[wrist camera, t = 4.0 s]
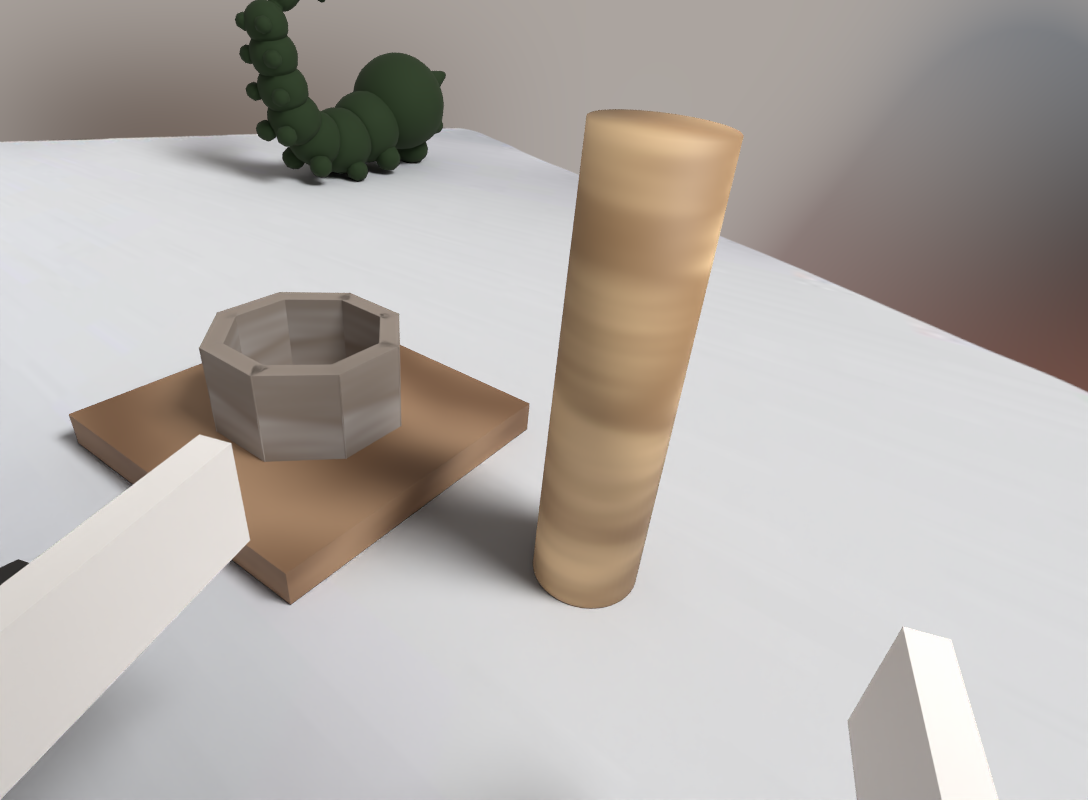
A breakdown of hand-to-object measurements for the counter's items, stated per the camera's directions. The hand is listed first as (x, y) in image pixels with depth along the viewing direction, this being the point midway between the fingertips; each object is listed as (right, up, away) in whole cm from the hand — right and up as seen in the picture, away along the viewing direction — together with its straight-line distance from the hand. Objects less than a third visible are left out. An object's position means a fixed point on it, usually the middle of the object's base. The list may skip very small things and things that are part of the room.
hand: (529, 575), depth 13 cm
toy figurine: (-19, +28, +58) cm, 67 cm away
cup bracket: (-10, +2, +18) cm, 21 cm away
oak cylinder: (+2, -3, +12) cm, 13 cm away
